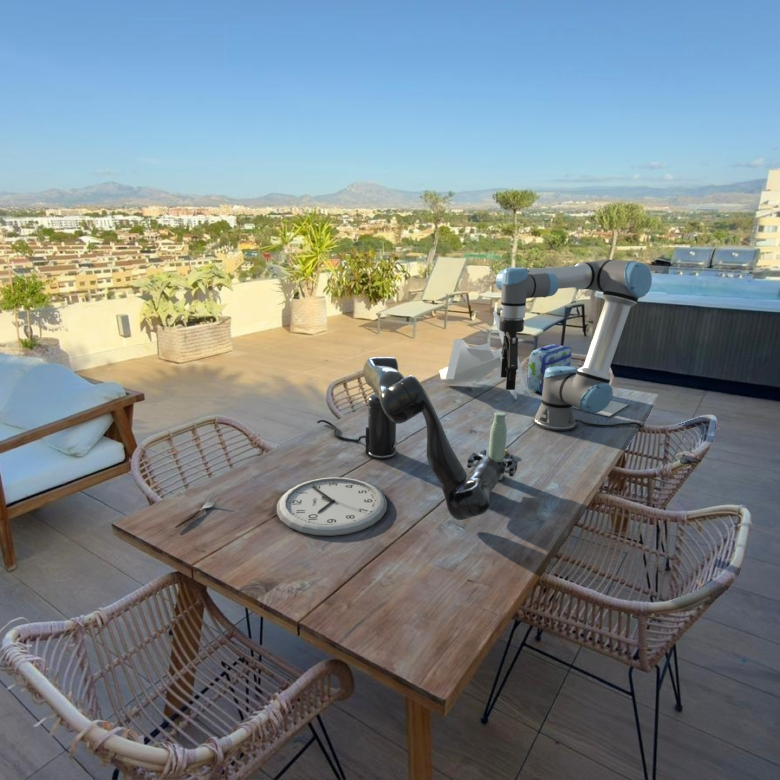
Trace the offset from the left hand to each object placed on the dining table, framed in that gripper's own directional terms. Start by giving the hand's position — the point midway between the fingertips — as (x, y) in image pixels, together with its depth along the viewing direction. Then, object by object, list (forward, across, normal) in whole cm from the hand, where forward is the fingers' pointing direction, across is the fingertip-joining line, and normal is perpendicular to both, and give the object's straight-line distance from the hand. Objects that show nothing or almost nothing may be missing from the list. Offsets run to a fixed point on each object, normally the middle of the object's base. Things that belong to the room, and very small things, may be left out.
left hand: (497, 454), depth 161 cm
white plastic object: (+80, +27, +6) cm, 85 cm away
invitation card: (+84, -26, +6) cm, 89 cm away
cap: (+16, +2, +5) cm, 17 cm away
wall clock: (-39, +36, +6) cm, 53 cm away
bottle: (-2, 0, +6) cm, 7 cm away
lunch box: (+101, -1, +6) cm, 101 cm away
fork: (-59, +66, +6) cm, 88 cm away
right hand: (+16, +2, -18) cm, 25 cm away
